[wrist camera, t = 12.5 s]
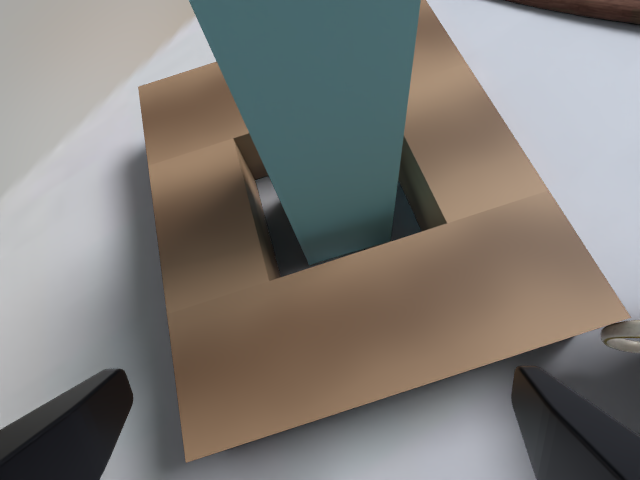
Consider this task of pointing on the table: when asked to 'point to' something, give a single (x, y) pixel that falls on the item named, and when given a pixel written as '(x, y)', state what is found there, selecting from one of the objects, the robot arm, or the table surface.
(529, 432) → the robot arm
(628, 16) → the spoon
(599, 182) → the table surface
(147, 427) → the table surface
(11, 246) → the table surface
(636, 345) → the chinaware
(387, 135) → the teal peg
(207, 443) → the walnut socket block
